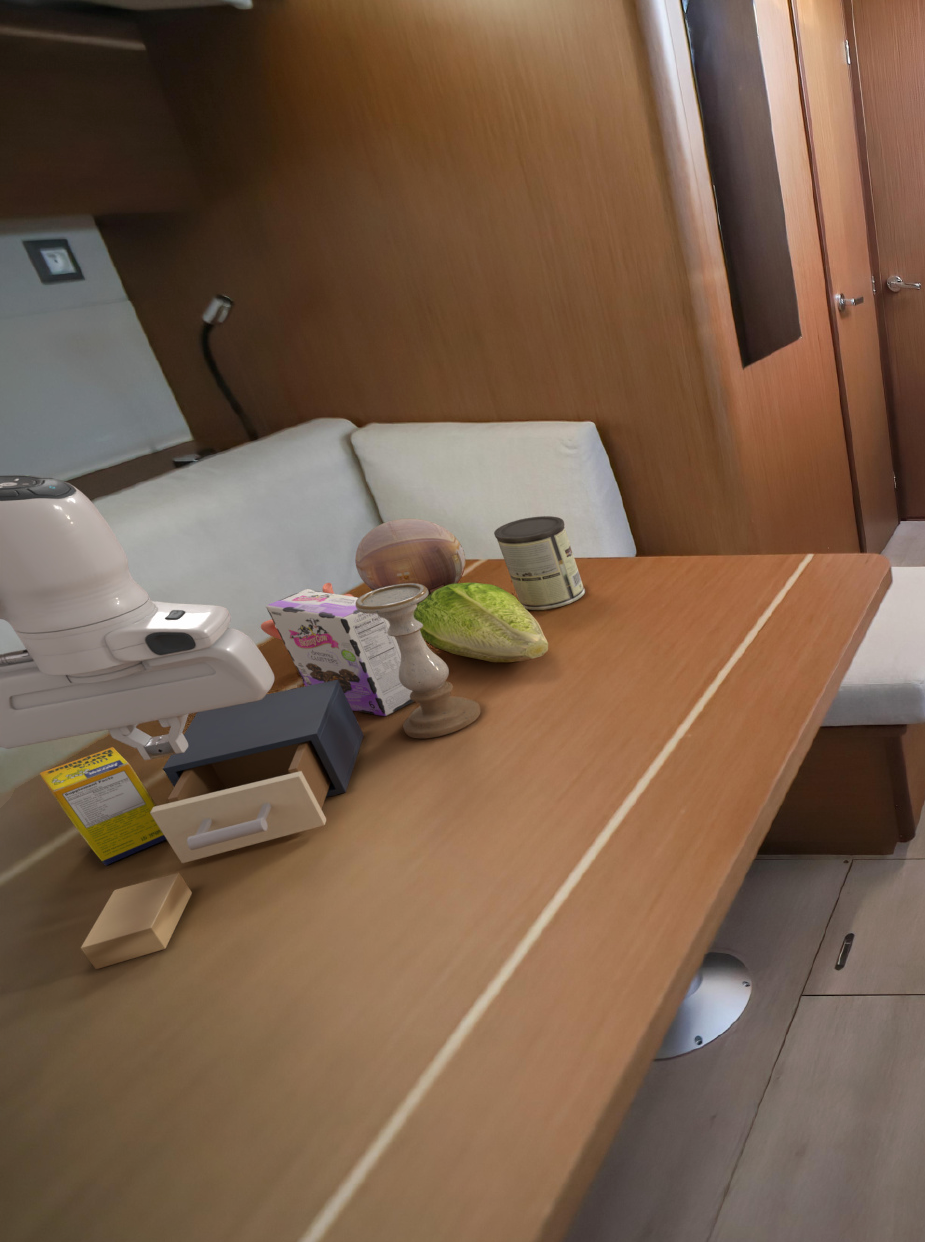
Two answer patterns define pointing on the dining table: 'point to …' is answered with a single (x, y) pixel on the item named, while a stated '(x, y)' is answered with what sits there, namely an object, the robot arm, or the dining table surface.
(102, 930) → the wooden rectangular block
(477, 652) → the lettuce
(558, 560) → the coffee can
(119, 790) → the supplement box
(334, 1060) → the dining table surface
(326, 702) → the cabinet
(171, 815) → the drawer
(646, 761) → the dining table surface
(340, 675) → the candy box
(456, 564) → the ornament
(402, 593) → the candle holder
